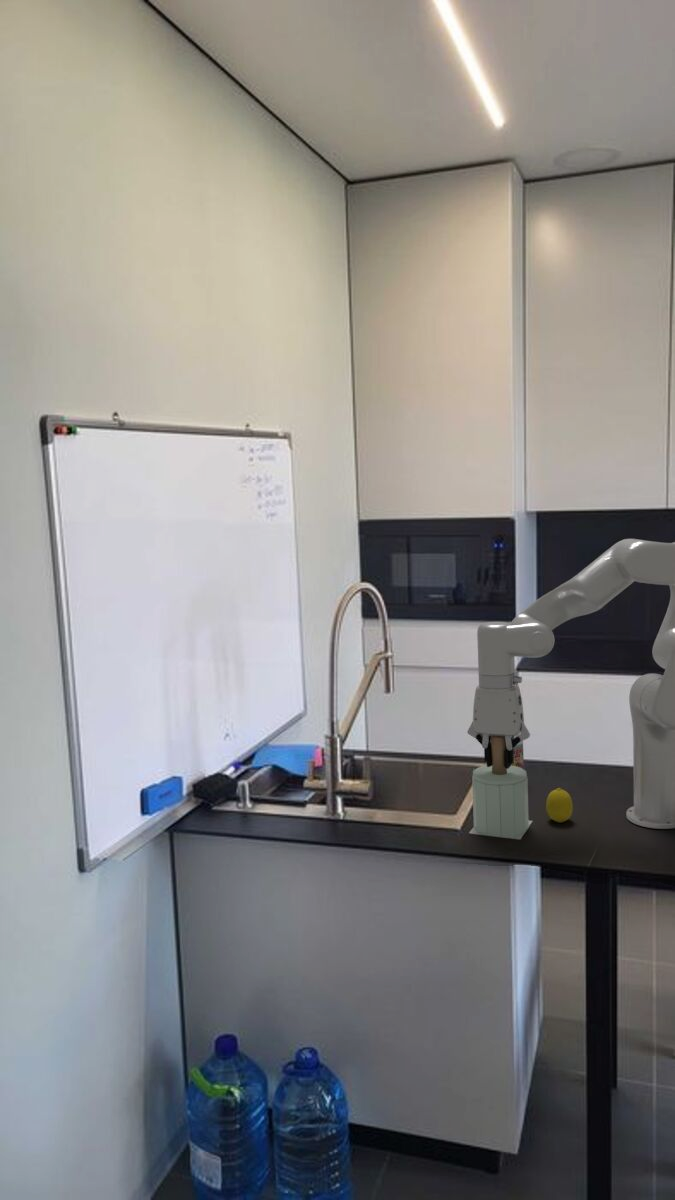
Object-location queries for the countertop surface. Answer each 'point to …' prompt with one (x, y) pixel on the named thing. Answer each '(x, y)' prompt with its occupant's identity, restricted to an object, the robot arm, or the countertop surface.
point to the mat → (503, 837)
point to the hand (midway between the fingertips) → (499, 765)
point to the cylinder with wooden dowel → (500, 795)
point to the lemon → (559, 805)
